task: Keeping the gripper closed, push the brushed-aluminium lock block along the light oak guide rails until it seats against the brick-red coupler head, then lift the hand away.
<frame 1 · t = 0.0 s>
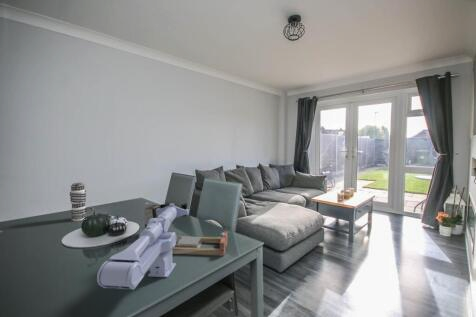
hand: (178, 205, 108), 22 cm above the table, tool horizontal, fingers open, 7 cm apart
lock block: (189, 247, 110), resting in coupler track
coupler track: (199, 247, 109), on the table
decorative candle: (79, 219, 152), on the table
coffee box: (154, 234, 126), on the table
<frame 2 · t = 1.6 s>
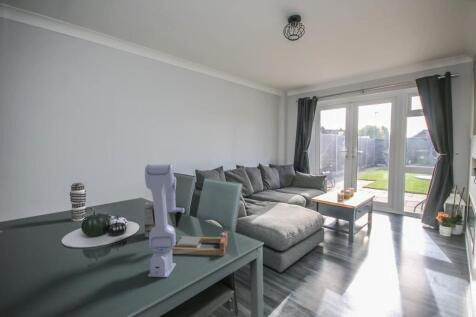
hand: (170, 226, 110), 10 cm above the table, tool pointing down, fingers open, 7 cm apart
nothing on the table moved.
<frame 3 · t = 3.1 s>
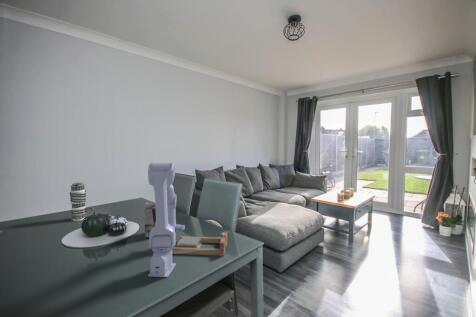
hand: (170, 243, 111), 2 cm above the table, tool pointing down, fingers closed
nothing on the table moved.
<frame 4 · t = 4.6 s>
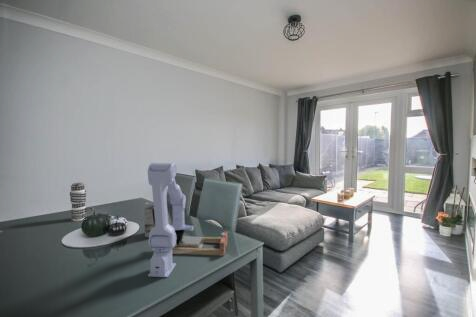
hand: (179, 244, 110), 1 cm above the table, tool pointing down, fingers closed
lock block: (191, 247, 110), resting in coupler track, touching gripper
everything else where it was.
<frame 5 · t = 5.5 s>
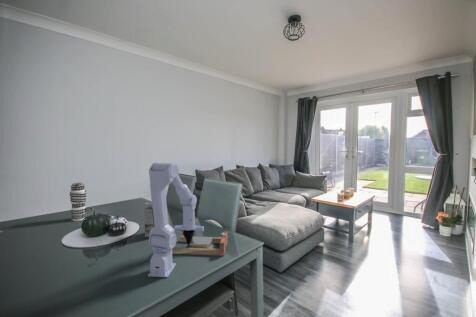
hand: (189, 244, 110), 1 cm above the table, tool pointing down, fingers closed
lock block: (201, 247, 110), resting in coupler track, touching gripper
everything else where it was.
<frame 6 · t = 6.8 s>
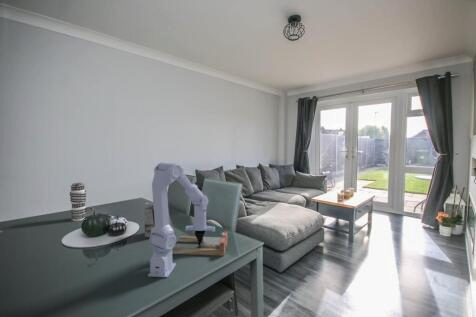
hand: (200, 244, 109), 1 cm above the table, tool pointing down, fingers closed
lock block: (212, 248, 109), resting in coupler track, touching gripper
everything else where it was.
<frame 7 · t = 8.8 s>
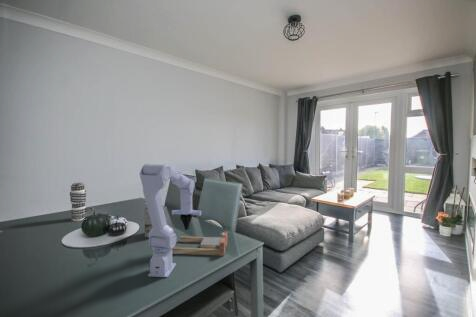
hand: (186, 229, 109), 9 cm above the table, tool pointing down, fingers closed
lock block: (212, 248, 109), resting in coupler track
everything else where it was.
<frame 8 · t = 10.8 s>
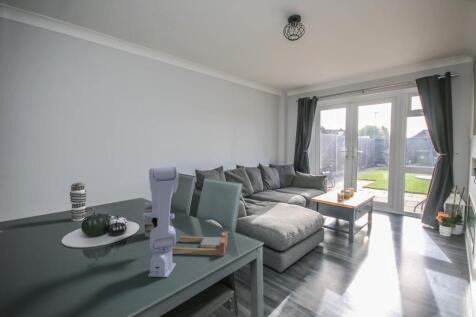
hand: (159, 232, 104), 9 cm above the table, tool pointing down, fingers closed
nothing on the table moved.
at the end: lock block 0.0 cm from the target spot, resting in coupler track; lock block tilted 0° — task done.
